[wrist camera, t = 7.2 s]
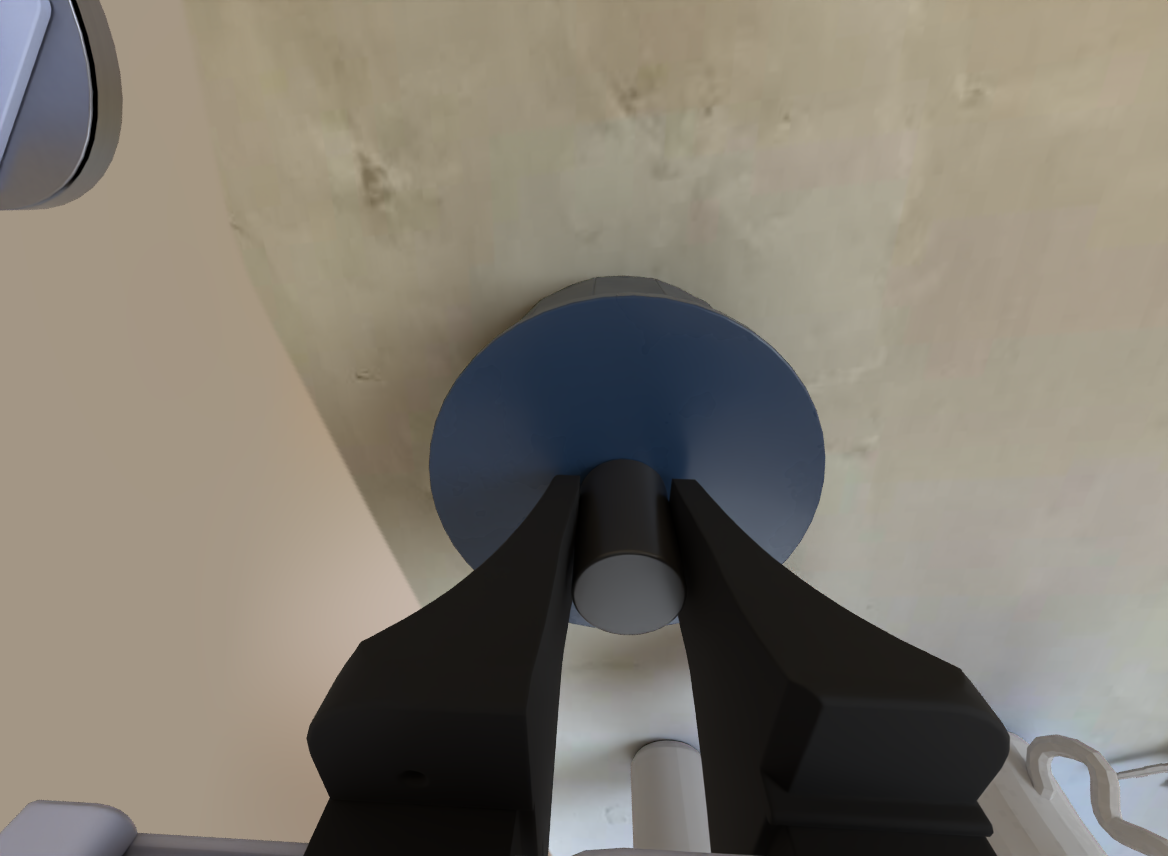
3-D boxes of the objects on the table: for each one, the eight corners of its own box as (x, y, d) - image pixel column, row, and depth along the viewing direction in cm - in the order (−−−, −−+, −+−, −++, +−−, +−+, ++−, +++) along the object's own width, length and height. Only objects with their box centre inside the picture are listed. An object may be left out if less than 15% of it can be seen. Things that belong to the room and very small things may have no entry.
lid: (370, 465, 14) (266, 581, 10) (638, 183, 10) (662, 171, 6) (611, 646, 17) (613, 793, 13) (881, 482, 13) (1009, 612, 9)
